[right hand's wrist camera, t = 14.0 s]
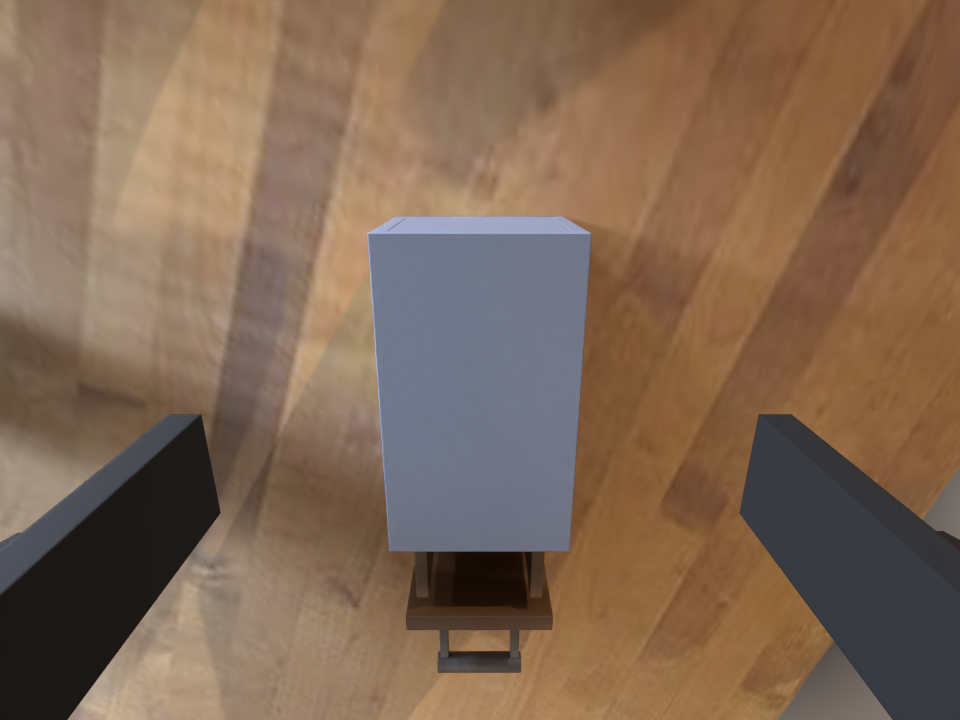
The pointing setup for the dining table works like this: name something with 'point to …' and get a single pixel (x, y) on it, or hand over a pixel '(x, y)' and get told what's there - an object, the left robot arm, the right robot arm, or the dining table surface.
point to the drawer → (479, 603)
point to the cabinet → (479, 379)
